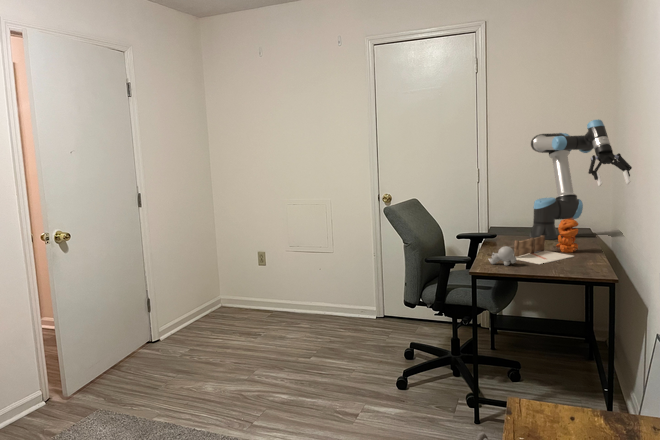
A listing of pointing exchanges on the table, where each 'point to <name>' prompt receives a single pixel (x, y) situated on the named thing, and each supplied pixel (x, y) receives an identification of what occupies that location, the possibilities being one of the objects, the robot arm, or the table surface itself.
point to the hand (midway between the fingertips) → (614, 184)
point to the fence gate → (522, 247)
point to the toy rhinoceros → (503, 256)
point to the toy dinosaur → (567, 235)
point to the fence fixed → (538, 244)
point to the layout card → (543, 257)
